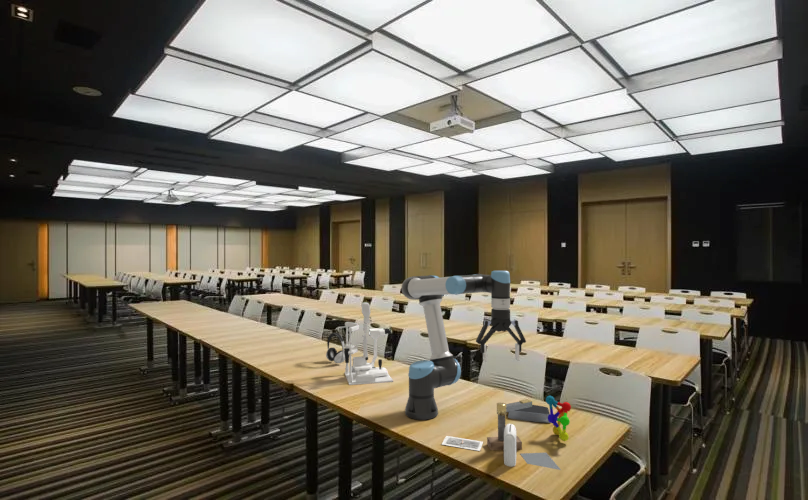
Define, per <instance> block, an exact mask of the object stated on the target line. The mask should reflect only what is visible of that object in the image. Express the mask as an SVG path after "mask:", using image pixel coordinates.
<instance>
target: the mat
mask: <svg viewBox="0 0 808 500" xmlns="http://www.w3.org/2000/svg"><path fill="white" fill-rule="evenodd" d="M520 456H521V457H522V458H523V460H524V461H525V463H526V464H527V465H532V466H538V467H544V468H547V469H554V470H558V471H562V469H561V468H560V466H558V465H557V463H556V462H555V461H554V460H553V459H552V457H551V456H550V455H549V454H548V453H547V452H529V453H528V452H526V453H520Z"/></svg>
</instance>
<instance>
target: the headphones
mask: <svg viewBox="0 0 808 500" xmlns="http://www.w3.org/2000/svg"><path fill="white" fill-rule="evenodd" d="M334 337H337V338H338V340H339V341H340V344H341V347H342V348H341V350H339V351H338V350H337V349H336V348H335V347H330V342H331V339H332V338H334ZM326 341H327V342H326V345H327V351H326V353H325V358H326V359H327V360H328V361H330V362H334V363H335V364H342V363H345V355H344V348H345V342H344V338H343V337H342V335H341V334H340V333H338V332H332V333H330V334H329V336H328V338H327V340H326Z"/></svg>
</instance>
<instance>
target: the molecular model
mask: <svg viewBox="0 0 808 500" xmlns="http://www.w3.org/2000/svg"><path fill="white" fill-rule="evenodd" d="M545 402H546V404H548V406H549V407H548V408H549V415H548V421H549V422H550V423H551V424H552V425H553V428H552V432H553V434H554V435H556V436H558V437H559V439H560V440H561V441H562V442H567V441H568V440H569V437H570V436H569V434H568V432H567V426H568V425H569V424H570V418H569V417H568V412H570V411H571V409H572V405H571V404H570V403H569V402H567V401H564V402H563V403H562V402H559V401H557V400H556V399H555V397H554V396H552V395H548V396H546V398H545ZM553 407H554V408H555V409H556V413H554V409H553ZM550 423H549V424H550ZM561 425H562V427H561Z"/></svg>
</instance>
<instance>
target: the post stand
mask: <svg viewBox="0 0 808 500" xmlns="http://www.w3.org/2000/svg"><path fill="white" fill-rule="evenodd" d="M505 426H506V415H498V414H497V436H487V437H486V442H487V443H486V444H487V446H488V449H489V450H490V451H504V429H505ZM516 450H523V441H522V440H521V439H520V438H519V436H518V435H516Z"/></svg>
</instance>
